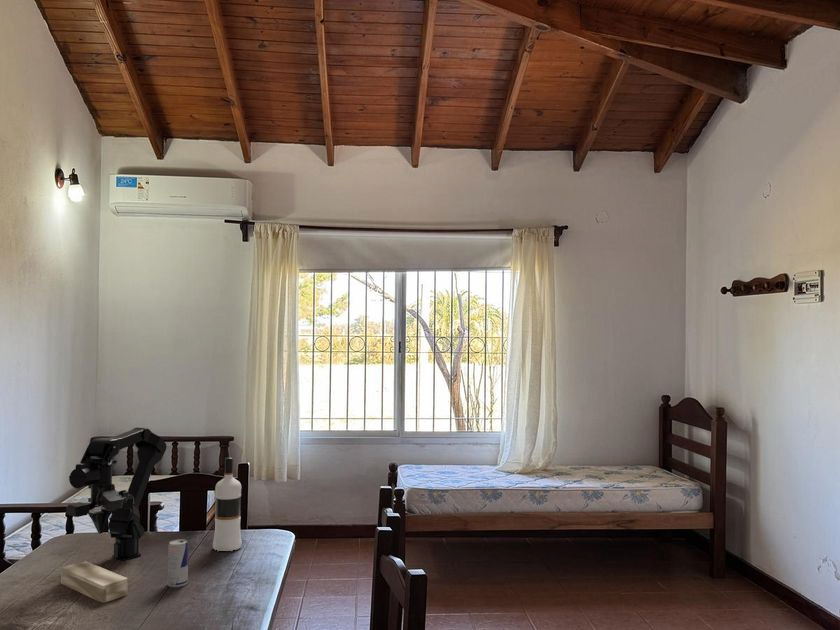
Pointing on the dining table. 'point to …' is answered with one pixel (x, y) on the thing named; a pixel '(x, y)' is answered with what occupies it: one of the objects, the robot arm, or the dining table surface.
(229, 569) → the dining table surface
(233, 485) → the vodka
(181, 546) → the energy drink
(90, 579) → the cream rounded block
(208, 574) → the dining table surface
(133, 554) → the robot arm
